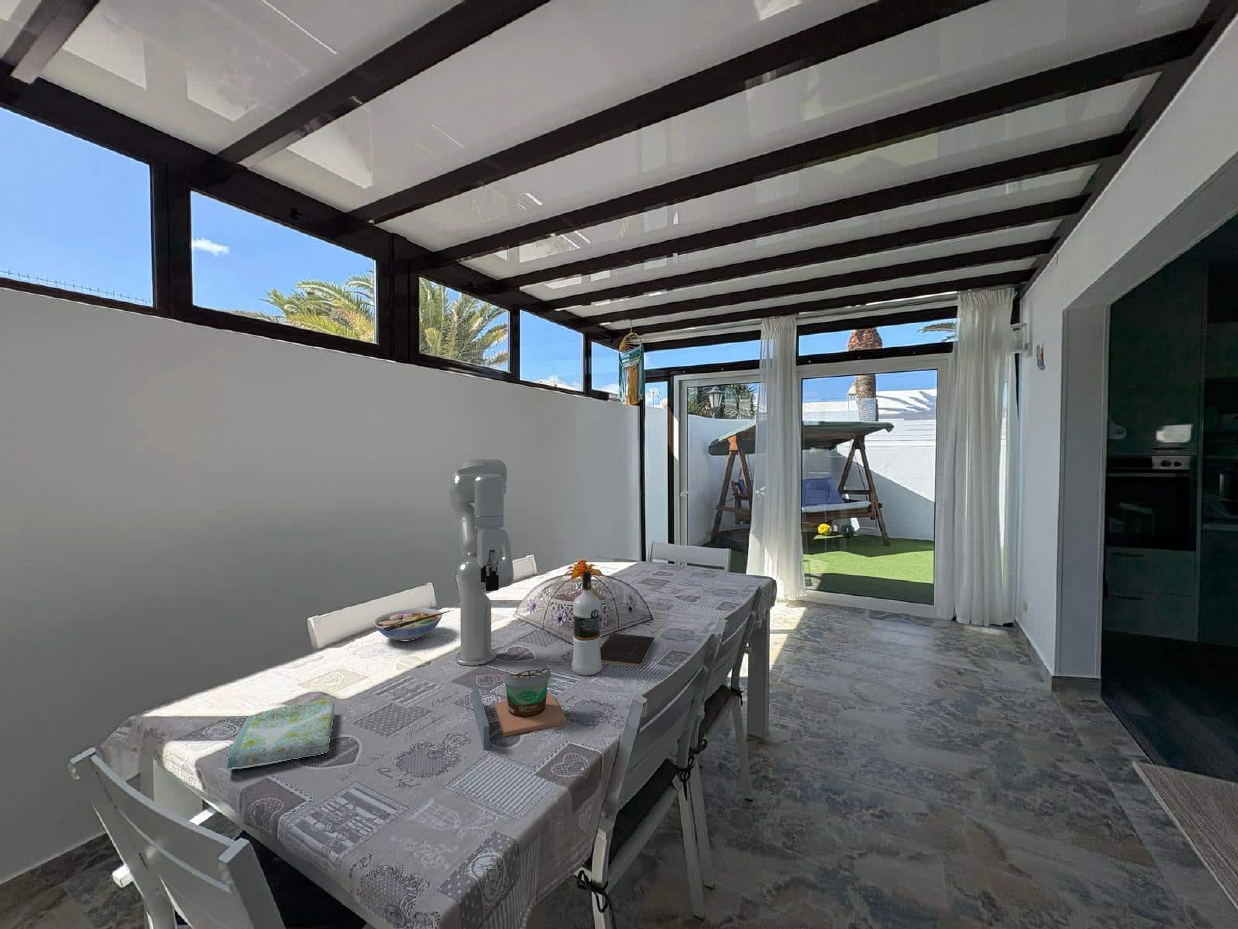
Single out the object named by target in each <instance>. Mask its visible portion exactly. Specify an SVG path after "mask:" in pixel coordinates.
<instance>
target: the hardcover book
mask: <svg viewBox="0 0 1238 929" xmlns="http://www.w3.org/2000/svg"><path fill="white" fill-rule="evenodd" d="M655 638H656V637H654V636H645V635H638V634H637V635H636V634H635V635H634V634H627V633H626V634H624V633H616V632H615V633H614V632H613V633H610V635H609V636H608V638H606V640H605V641H604V642H603V644H602V645H600V653H601V660H602V665H607V664H608V665H609V666H617V667H626V668H627V667H628V668H634V667H640V666H642V665H643V663H644V661H645V659H646V657H647V655H648V654H647V653H649V652H650V650H651V648H652V646H653V644H654V642H653V641H655ZM652 643H653V644H652ZM651 645H652V646H651ZM650 647H651V648H650ZM649 649H650V650H649ZM648 651H649V652H648ZM646 654H647V655H646ZM644 658H645V659H644ZM642 662H643V663H642ZM641 664H642V665H641ZM640 668H641V667H640Z"/></svg>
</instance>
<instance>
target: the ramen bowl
mask: <svg viewBox="0 0 1238 929" xmlns="http://www.w3.org/2000/svg"><path fill="white" fill-rule="evenodd" d="M450 612H451V611H449V610H448V611H447V610H446V611H444V612H443V611H440V610H438V609H435V608H426V607H425V608H424V607H423V608H422V607H420V608H419V607H416V608H403V609H400V610H394V611H389V612H387V613H384V614H381V615H379V616H378V617H375V618H374V620H373V625H374V627H375V629H377V631H378V632H379V633H380V634H381V635H382V636H384V637H385V638H387V639H390V640H396V641H399V640H412V639H416V638H418V639H419V638H421V637H424V636H426V635H428V634H429V633H431V632H432V631H434V629H436V627H437V626H438V625H439V623H440V622H441V619H442V617H443V615H444V614H446V613H450ZM416 640H417V639H416ZM412 641H413V640H412Z"/></svg>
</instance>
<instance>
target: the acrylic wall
mask: <svg viewBox="0 0 1238 929" xmlns="http://www.w3.org/2000/svg"><path fill="white" fill-rule="evenodd" d="M478 686H479V685H477V684H473V685H471V687H472V688H471V690H472V691H471V692H472V693H471V695H472V696H471V704H472V708H473V712H474V716H475V721H476V724H477V727H478V731H479V732H480V733H479V732H478V733H479V736H481V737H480V740H482V741H481V743H482V747H483V750H486V749H490V723H489V721H488V717H487V714H486V711H485V707H484V704H483V701H482V696H481V693H480V691H479V687H478Z"/></svg>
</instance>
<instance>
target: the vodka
mask: <svg viewBox="0 0 1238 929" xmlns="http://www.w3.org/2000/svg"><path fill="white" fill-rule="evenodd" d="M601 604H602V603H601V600H600V598H599V597H598V596H596V595H595V594H593V592H592V571H590V570H589V571H587V570H586V571H583V572H582V593H581V594H579V595H578V596H576V597H575V599H574V600H573V603H572V610H573V611H572V614H573V637H572V640H573V649H572V650H573V652H572V659H571V660H572V661H571V670H572V672H573V673H574V674H577V675H578V676H579V675H580V676H593V675H596V674H597V673H599V672H601V670H602V668H603V664H602V660H601V653H600V647H601V639H602V637H601Z"/></svg>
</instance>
